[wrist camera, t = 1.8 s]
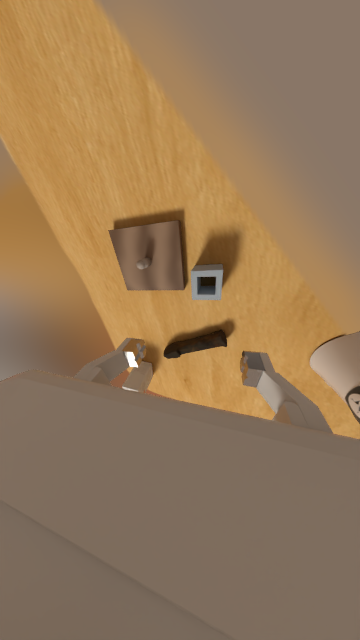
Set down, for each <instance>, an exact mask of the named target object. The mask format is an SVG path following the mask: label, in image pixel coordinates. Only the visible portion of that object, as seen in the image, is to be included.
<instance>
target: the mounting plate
mask: <svg viewBox="0 0 360 640" xmlns="http://www.w3.org/2000/svg"><path fill="white" fill-rule="evenodd" d="M108 231H109V234H110V237H111V240H112V243H113V246H114V250H115V253H116V256H117V259H118V262H119V265H120V268H121V271H122V275H123V278H124V281H125V284H126V287H127V290H184V289H185V277H184V263H183V250H182V236H181V223H180V221H179V220H177V221H170V222H163V223H156V224H149V225H142V226H136V227H129V228H122V229H115V230H108Z"/></svg>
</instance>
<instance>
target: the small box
mask: <svg viewBox="0 0 360 640" xmlns="http://www.w3.org/2000/svg"><path fill="white" fill-rule="evenodd" d="M152 377H153V371H152V363H148V362H144V361H142V362H141V363H140V365H139V367H134V368H133V370H132V371H131V373H130V374H129V376H128V378H127V379H126V381H125V383H124V384H123V386H122V387H123V389H128V390H132V391H137V392H142V393H145V392H146V390H147V388H148V386H149V383H150V381H151V379H152Z"/></svg>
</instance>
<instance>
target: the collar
mask: <svg viewBox="0 0 360 640" xmlns="http://www.w3.org/2000/svg"><path fill="white" fill-rule="evenodd" d="M200 277H216V286H201V279H200ZM222 278H223V264H210V265H195V266H194V268H193V269H192V270H191V284H192V300H221V291H222Z"/></svg>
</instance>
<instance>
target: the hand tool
mask: <svg viewBox="0 0 360 640" xmlns="http://www.w3.org/2000/svg"><path fill="white" fill-rule="evenodd" d="M220 346H224V347H227V339H226V336H225V334H224V332H223V331H222V330H220V331H219V332H215V333H213V334H210V335H206V336H203V337H199V338H198V337H197V338H195V339H191V340H187V341H183V342H179V341H178V342H175V343H173V344H171V345H169V346H168V347H166V348H165V350H164V357H166V358H168V359H170V358H178V357H180V355H182V354H185V353H190V352H195V351H200V350H205V349H209V348H214V347H220Z"/></svg>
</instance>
